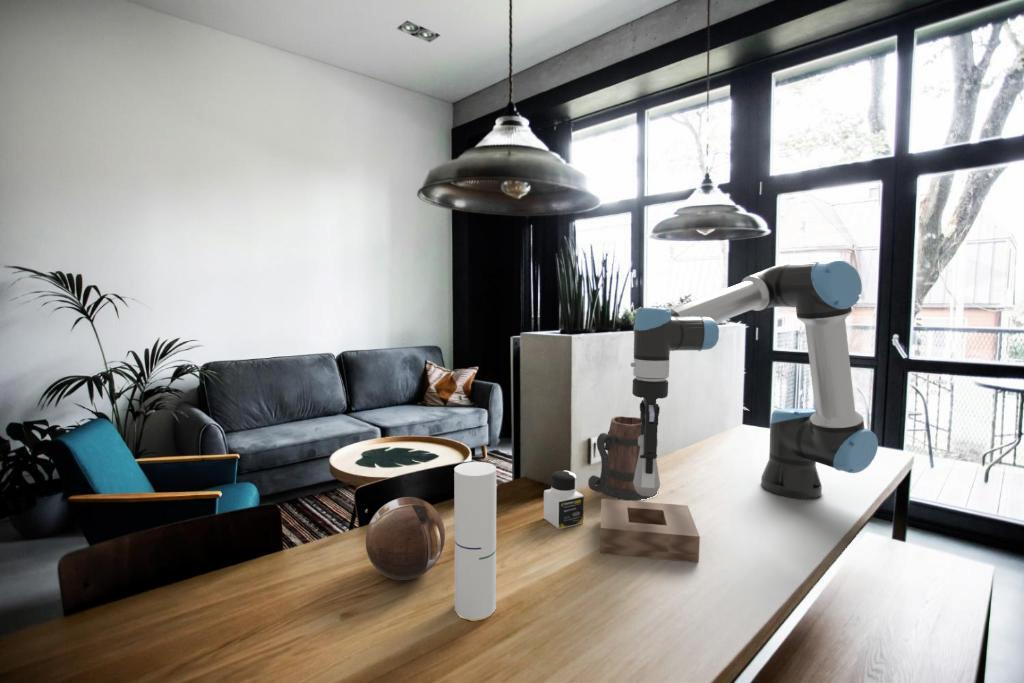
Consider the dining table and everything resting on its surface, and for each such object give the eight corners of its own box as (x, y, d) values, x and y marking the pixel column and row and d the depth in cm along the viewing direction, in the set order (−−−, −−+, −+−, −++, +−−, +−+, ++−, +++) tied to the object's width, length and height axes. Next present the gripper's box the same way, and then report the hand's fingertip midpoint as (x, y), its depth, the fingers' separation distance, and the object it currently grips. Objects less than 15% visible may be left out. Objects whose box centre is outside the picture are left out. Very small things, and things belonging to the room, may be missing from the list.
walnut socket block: (686, 527, 120) (687, 505, 120) (698, 562, 104) (699, 536, 104) (600, 520, 124) (601, 498, 123) (599, 552, 108) (600, 527, 108)
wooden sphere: (354, 570, 101) (353, 496, 99) (423, 548, 110) (422, 480, 108) (385, 607, 89) (384, 524, 87) (459, 578, 98) (459, 503, 96)
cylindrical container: (455, 597, 92) (454, 462, 90) (494, 595, 92) (495, 461, 90) (454, 622, 85) (453, 476, 82) (497, 620, 85) (497, 475, 83)
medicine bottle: (558, 530, 119) (559, 480, 118) (543, 518, 125) (543, 470, 124) (583, 523, 122) (584, 475, 121) (567, 512, 128) (568, 466, 127)
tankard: (623, 474, 156) (625, 410, 154) (671, 491, 143) (673, 421, 141) (568, 492, 142) (569, 421, 140) (615, 512, 129) (617, 435, 127)
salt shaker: (657, 488, 116) (659, 432, 115) (662, 498, 110) (664, 439, 109) (631, 487, 116) (632, 431, 115) (634, 497, 110) (636, 438, 109)
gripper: (630, 371, 121) (627, 466, 123) (635, 384, 102) (631, 496, 104) (663, 373, 119) (660, 469, 121) (673, 386, 101) (669, 499, 103)
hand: (646, 481), depth 113 cm, fingers closed on salt shaker, 6 cm apart
